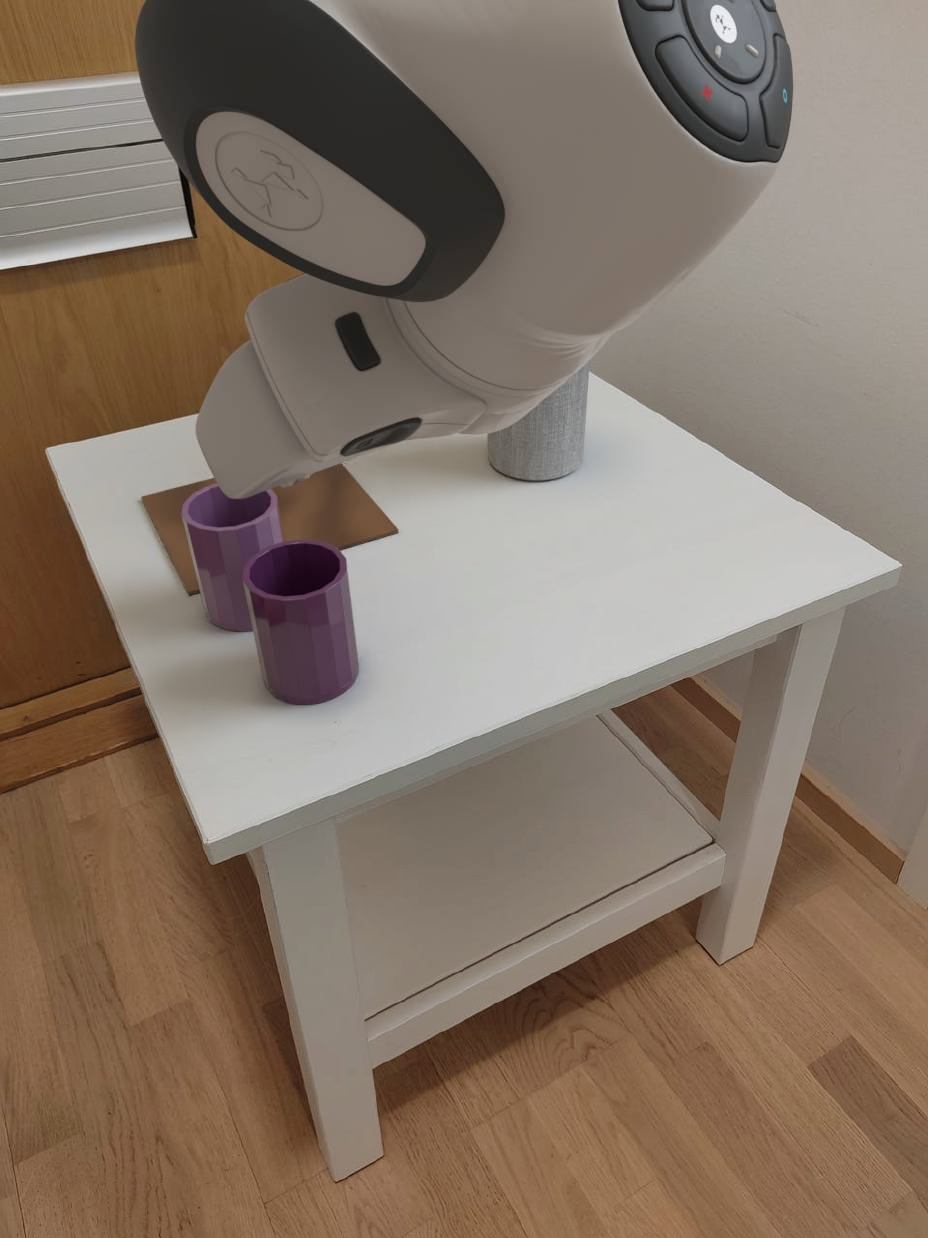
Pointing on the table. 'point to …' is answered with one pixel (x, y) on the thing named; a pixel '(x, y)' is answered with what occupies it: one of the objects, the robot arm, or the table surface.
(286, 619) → the plum cup
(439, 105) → the robot arm
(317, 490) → the placemat
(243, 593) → the mauve cup
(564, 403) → the vase
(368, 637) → the table surface
